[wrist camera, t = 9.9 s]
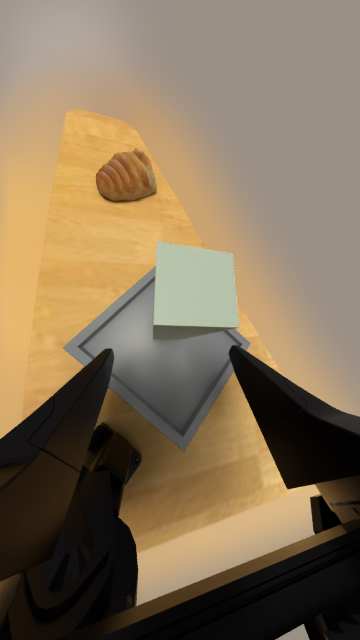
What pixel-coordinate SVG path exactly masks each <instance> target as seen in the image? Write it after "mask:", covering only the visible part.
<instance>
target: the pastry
mask: <svg viewBox="0 0 360 640" xmlns="http://www.w3.org/2000/svg"><path fill="white" fill-rule="evenodd" d="M96 184H97V188H98V190H99V192H100V193H101V194H102V195H103V196H105V197H107V198H108V199H110V200H113V201H119V200H125V201H126V200H128V201H134V200H136V199H140V198H143V197H146V196H149V195H151V194H152V193H154V191H155V190H156V188H157V184H156V180H155V175H154V173H153V170H152V166H151V163H150V161H149V159H148V157H147V156H146V154H145V153H144V152H143V151H139V150H138V149H136V148H135V150H134V151H132V152H125V153H124V152H122V153H116V154H114V156H113V158H112V159H111V160H109V162H108V163H107V164H104V165H103V166H102V168H101V169H99V171H98V173H97V174H96Z"/></svg>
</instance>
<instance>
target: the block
mask: <svg viewBox="0 0 360 640" xmlns="http://www.w3.org/2000/svg"><path fill="white" fill-rule="evenodd" d="M235 328H239V319H238V308H237V297H236V287H235V276H234V265H233V254H231V253H225V252H219V251H213V250H207V249H201V248H195V247H189V246H182V245H176V244H170V243H164V242H158V241H157V251H156V275H155V298H154V322H153V339H186V338H191V337H196V336H201V335H206V334H211V333H215V332H220V331H225V330H230V329H235Z"/></svg>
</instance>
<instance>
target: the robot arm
mask: <svg viewBox="0 0 360 640" xmlns="http://www.w3.org/2000/svg"><path fill="white" fill-rule="evenodd" d="M229 357H230V360H231V363H232V366H233V369H234V372H235V374H236V377H237V379H238V381H239V383H240V385H241V388H242V390H243V392H244V394H245V397H246V399H247V401H248V403H249V405H250V408H251V410H252V412H253V414H254V417H255V419H256V421H257V423H258V425H259V428H260V430H261V432H262V434H263V436H264V439H265V441H266V443H267V446H268V448H269V450H270V452H271V454H272V457H273V459H274V461H275V463H276V466H277V468H278V470H279V472H280V475H281V477H282V479H283V481H284V483H285V485H286V487H287V489H292V488H297V487H302V486H308V485H313V484H315V485H316V487H317V488H318V490H319V492H320V493H321V494H319V495H316V496H313V497H310V500H311V511H312V521H313V530H314V533H315V535H313V536H311V537H308V538H306V539H303V540H301V541H298V542H296V543H293V544H291V545H288V546H286V547H283V548H281V549H278V550H276V551H273V552H271V553H268V554H266V555H263V556H261V557H258V558H256V559H253V560H251V561H248V562H246V563H243V564H241V565H238V566H236V567H233V568H231V569H228V570H226V571H223V572H221V573H218V574H216V575H213V576H211V577H208V578H206V579H203V580H201V581H199V582H196V583H193V584H191V585H188V586H186V587H183V588H181V589H178V590H176V591H173V592H171V593H168V594H166V595H163V596H161V597H158V598H156V599H153V600H151V601H148V602H146V603H143V604H141V605H138V606H136V600H137V581H138V564H137V552H136V544H135V541H134V539H133V536H132V534H131V531H130V529H129V527H128V526H127V525H126V524H125V523H124V522H123V521H122V520H121V519H120V518H118V516H119V511H120V506H121V501H122V496H123V491H124V486H125V485H126V483H127V482H128V481H129V479H130V478H131V476H132V475H133V473H134V472H135V470H136V469H137V468H138V466H139V465H140V463H141V458H142V456H141V454H140V453H139V452H137V451H136V450H135V449H134V448H133V447H132V444H130V443H129V442H128V441H127V440H126V439H124V438H123V437H122V436H121V435H120V434H118V433H117V432H114V431H113V430H111V429H110V428H109V427H108V426H107V425H105V424H104V423H102V424H100V425H98V427H97V428H96V429H95V430H94V428H95V425H96V422H97V419H98V416H99V413H100V410H101V407H102V404H103V401H104V398H105V395H106V392H107V389H108V385H109V382H110V378H111V373H112V368H113V363H114V353H113V349H112V348H106V349H104V350H103V351H102V352H101V353H100V354H98V355H97V356H96V357H95V358H94V359H93V360H92V361H91V362H90V363H88V364H87V365H86V366H85V367H84V368H83V369H82V370H81V371H79V372H78V373H77V374H76V375H75V376H74V377H73V378H72V379H71V380H69V381H68V382H67V383H66V384H65V385H64V386H63V387H62V388H61V389H59V390H58V391H57V392H56V393H55V394H54V396H52V397H50V398H49V399H48V400H47V401H46V402H45V403H44V404H43V405H41V406H40V407H39V408H38V409H37V410H36V411H34V412H33V413H32V414H31V415H30V416H28V417H27V418H26V419H25V420H24V421H22V422H21V423H20V424H19V425H18V426H16V427H15V428H14V429H12V430H11V431H10V432H9V433H7V434H6V435H5V436H4V437H3V438H1V439H0V640H275V639H277V638H279V637H280V636H282V635H284V634H286V633H288V632H290V631H291V630H293V629H295V628H297V627H298V626H300V625H302V624H304V626H305V629H306V631H307V634H308V637H309V639H310V640H360V417H359V416H355V415H351V414H348V413H345V412H342V411H340V410H338V409H336V408H334V407H332V406H330V405H328V404H327V403H325V402H323V401H322V400H320V399H318V398H317V397H315V396H313V395H312V394H310V393H309V392H307V391H305V390H304V389H302V388H301V387H299V386H297V385H296V384H294V383H293V382H291V381H290V380H288V379H287V378H285V377H284V376H282V375H281V374H279V373H278V372H276V371H275V370H274V369H272V368H271V367H269V366H268V365H266V364H265V363H263V362H262V361H260V360H259V359H257V358H256V357H254V356H253V355H251V354H250V353H248V352H247V351H245V350H244V349H242V348H241V347H239V346H238V345H232V346H231V348H230V350H229ZM99 428H102V429H103V430H102V431H100V430H99ZM137 458H138V459H139V460H138V461H136V460H135V459H137Z"/></svg>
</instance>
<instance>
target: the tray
mask: <svg viewBox="0 0 360 640" xmlns="http://www.w3.org/2000/svg"><path fill="white" fill-rule="evenodd" d="M155 275H156V266H155V267H154V268H153V269H152V270H151V271H149V272H148V273H147V274H146V275H145V276H144V277H143V278H141V279H140V280H139V281H138V282H137V283H136V284H135V285H133V286H132V287H131V288H130V289H129V290H128V291H127V292H126V293H124V294H123V295H122V296H121V297H120V298H119V299H118V300H116V301H115V302H114V303H113V304H112V305H111V306H110V307H108V308H107V309H106V310H105V311H104V312H103V313H102V314H100V315H99V316H98V317H97V318H96V319H95V320H94V321H92V322H91V323H90V324H89V325H88V326H87V327H86V328H84V329H83V330H82V331H81V332H80V333H79V334H78V335H77V336H75V337H74V338H73V339H72V340H71V341H70V342H69V343H67V344H66V345H65V346H64V347H63V349H65V350H66V351H67V352H68V353H69V354H70V355H72V356H73V357H74V358H75V359H76V360H77V361H79V362H80V363H81V364H82V365H83V366H84V367H85V366H86V365H87V364H88V363H90V362H91V361H92V360H93V359H94V358H95V357H96V356H97V355H98V354H100V353H101V352H102V351H103V350H104V349H106V348H112V349H113V353H114V363H113V368H112V373H111V378H110V382H109V385H108V387H109V388H110V389H111V390H113V391H114V392H115V393H116V394H117V395H118V396H120V397H121V398H122V399H123V400H124V401H125V402H127V403H128V404H129V405H130V406H131V407H132V408H134V409H135V410H136V411H137V412H138V413H139V414H141V415H142V416H143V417H144V418H145V419H146V420H148V421H149V422H150V423H151V424H152V425H153V426H155V427H156V428H157V429H158V430H159V431H160V432H162V433H163V434H164V435H165V436H166V437H167V438H169V439H170V440H171V441H172V442H173V443H175V444H176V445H177V446H178V447H179V448H180V449H182V450H183V451H184V450H185V449H186V447H187V446H188V444H189V442H190V441H191V439H192V438H193V436H194V434H195V433H196V431H197V429H198V428H199V426H200V425H201V423H202V421H203V420H204V418H205V416H206V415H207V413H208V412H209V410H210V408H211V407H212V405H213V404H214V402H215V400H216V399H217V397H218V395H219V394H220V392H221V391H222V389H223V387H224V386H225V384H226V383H227V381H228V379H229V378H230V376H231V374H232V373H233V371H234V369H233V366H232V363H231V360H230V357H229V350H230V348H231V346H232V345H238V346H239V347H241V348H242V349H244V350H245V351H246V350H247V349H248V347H249V345H250V344H251V343H250V342H249V341H247V340H246V339H245V338H244V337H243V336H242V335H241V334H240V333H239V332H237V331H236V330H235V329H230V330H225V331H220V332H215V333H211V334H206V335H201V336H196V337H191V338H186V339H153V322H154V298H155Z"/></svg>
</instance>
